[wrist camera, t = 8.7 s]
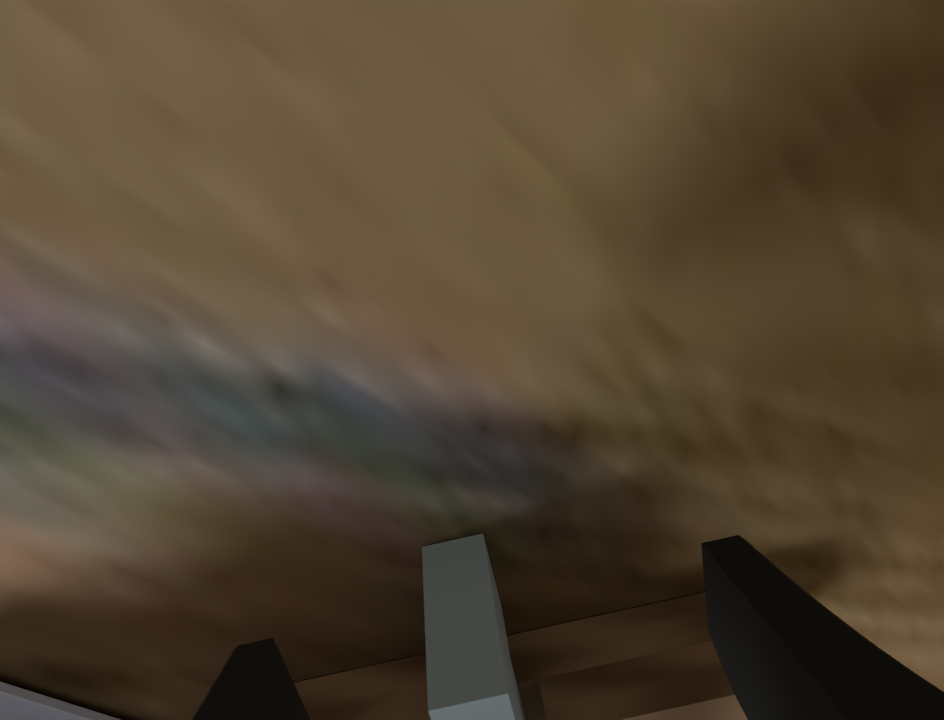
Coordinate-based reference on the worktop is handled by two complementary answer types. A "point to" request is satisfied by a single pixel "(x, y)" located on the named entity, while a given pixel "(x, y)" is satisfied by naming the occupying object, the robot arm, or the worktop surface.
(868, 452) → the worktop surface
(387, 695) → the walnut slotted rail
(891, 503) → the worktop surface
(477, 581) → the grey notched plate
